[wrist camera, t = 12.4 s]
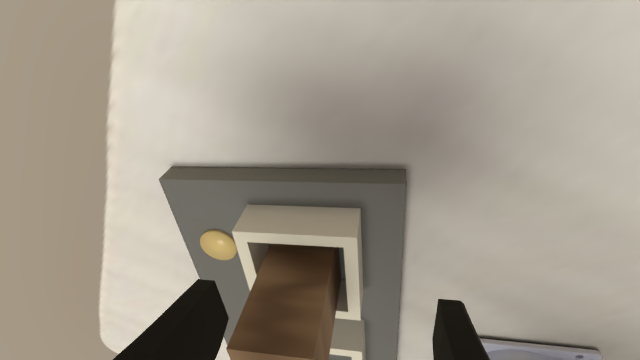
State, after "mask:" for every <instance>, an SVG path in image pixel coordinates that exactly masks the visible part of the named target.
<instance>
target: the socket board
mask: <svg viewBox="0 0 640 360" xmlns="http://www.w3.org/2000/svg"><path fill="white" fill-rule="evenodd" d="M159 181H160V183H161V186H162V188H163V191H164V193H165V195H166V198H167V200H168V203H169V205H170V208H171V210H172V212H173V215H174V217H175V220H176V222H177V224H178V227H179V229H180V232H181V234H182V237H183V239H184V241H185V244H186V246H187V249H188V251H189V253H190V256H191V258H192V261H193V263H194V266H195V268H196V270H197V273H198V275H199V278H200V279H202V280H214V281H215V283H216V285H217V288H218V291H219V293H220V296H221V298H222V301H223V304H224V306H225V309H226V312H227V314H228V317H229V320H228V324H227V327H226V330H225V334H224V338H225V340H226V343H227V345H228V344H229V341H230V339H231V336H232V334H233V332H234V329H235V327H236V325H237V322H238V320H239V317H240V315H241V313H242V310H243V308H244V305H245V303H246V301H247V298H248V296H249V293H250V291H251V289H252V286H253V284H254V282H255V279H256V277H257V274H258V272H259V270H260V267H261V265H262V262H263V260H264V258H265V255H266V253H267V250H268V248H269V246H270V243H272V244H289V245H307V246H324V247H339V256H340V268H341V283H340V289H339V296H338V302H337V309H336V315H335V321H334V328H333V334H332V341H331V347H330V354H329V360H397V345H398V327H399V309H400V291H401V272H402V254H403V236H404V218H405V200H406V171H405V170H394V169H309V168H224V167H171V168H170V169H169V170H168V171H167V172H166V173H165V174H164V175H163V176H162V177H161V178H160V179H159Z"/></svg>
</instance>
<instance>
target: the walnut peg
mask: <svg viewBox="0 0 640 360" xmlns="http://www.w3.org/2000/svg"><path fill="white" fill-rule="evenodd" d="M340 283H341V268H340V256H339V247H324V246H307V245H289V244H272V243H270V246H269V248H268V250H267V253H266V255H265V258H264V260H263V262H262V265H261V267H260V270H259V272H258V274H257V277H256V279H255V282H254V284H253V286H252V289H251V291H250V293H249V296H248V298H247V301H246V303H245V305H244V308H243V310H242V313H241V315H240V317H239V320H238V322H237V325H236V327H235V329H234V332H233V334H232V336H231V339H230V341H229V344H228V346H227V348H226V349H227V352H228V354H229V356H230V359H231V360H329V354H330V347H331V341H332V334H333V328H334V321H335V315H336V309H337V302H338V296H339V289H340Z"/></svg>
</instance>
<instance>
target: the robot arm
mask: <svg viewBox="0 0 640 360" xmlns="http://www.w3.org/2000/svg"><path fill="white" fill-rule="evenodd" d="M228 320H229V317H228V314H227V312H226V309H225V306H224V304H223V301H222V298H221V296H220V293H219V291H218V288H217V285H216V283H215V281H214V280H202V279H198V280H197V281H196V282H195V283H194V284H193V285H192V286H191V287H190V288H189V289H188V290H187V291H186V292H184V293H183V294H182V295H181V296H180V297H179V298H178V299H177V300H176V301H175V302H174V303H173V304H172V305H171V306H170V307H169V308H168V309H167V310H166V311H165V312H164V313H163V314H162V315H161V316H160V317H159V318H158V319H157V320H156V321H155V322H154V323H152V324H151V325H150V326H149V327H148V328H147V329H146V330H145V331H144V332H143V333H142V334H141V335H140V336H139V337H138V338H137V339H135V340H134V341H133V342H132V343H131V344H130V345H129V346H128V347H126V348H125V349H124V350H123V351H122V352H121V353H120V354H119V355H117V356H116V357H115V358H114V359H113V360H215V358H216V356H217V354H218V351H219V349H220V346H221V343H222V340H223V337H224V334H225V330H226V327H227V324H228ZM433 355H434V360H602V359H603V357H602V355H601V353H600V352H599V351H597V350H590V349H580V348H570V347H560V346H550V345H540V344H530V343H521V342H511V341H501V340H491V339H481V338H479V337H478V335H477V333H476V331H475V328H474V326H473V324H472V322H471V320H470V317H469V315H468V313H467V310H466V308H465V305H464V304H463V303H462V302H461V301H457V300H444V299H439V300H438V306H437V313H436V320H435V326H434V333H433Z"/></svg>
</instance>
